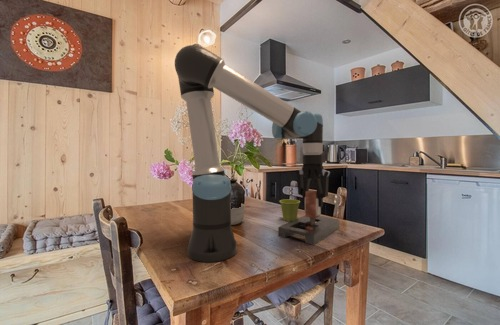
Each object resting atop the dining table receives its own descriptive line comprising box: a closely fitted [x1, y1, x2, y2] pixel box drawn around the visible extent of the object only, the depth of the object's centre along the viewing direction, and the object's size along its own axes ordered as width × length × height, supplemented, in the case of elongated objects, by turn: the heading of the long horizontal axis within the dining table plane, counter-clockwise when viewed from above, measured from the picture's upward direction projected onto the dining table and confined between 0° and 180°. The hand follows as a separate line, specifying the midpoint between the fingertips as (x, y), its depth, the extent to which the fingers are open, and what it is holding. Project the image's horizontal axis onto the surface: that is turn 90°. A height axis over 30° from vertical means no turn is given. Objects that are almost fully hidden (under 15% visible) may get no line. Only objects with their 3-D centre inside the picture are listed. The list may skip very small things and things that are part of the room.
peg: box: [304, 189, 321, 231], centre depth 95 cm, size 6×6×15 cm
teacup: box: [231, 203, 245, 226], centre depth 108 cm, size 14×11×8 cm
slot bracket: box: [277, 214, 340, 246], centre depth 94 cm, size 14×24×3 cm, turn 140°
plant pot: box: [279, 198, 301, 222], centre depth 112 cm, size 9×9×9 cm
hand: (312, 213), depth 95 cm, fingers closed on peg, 4 cm apart
